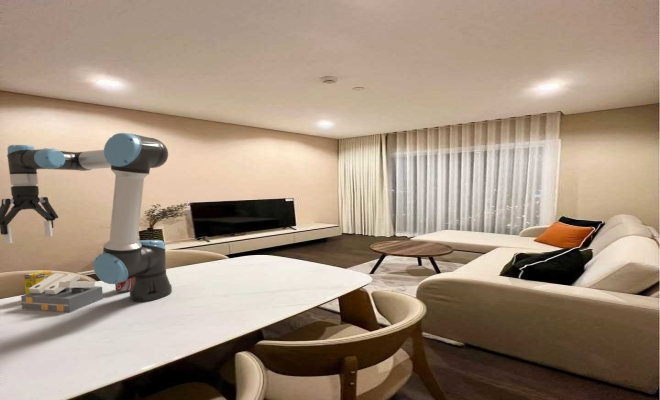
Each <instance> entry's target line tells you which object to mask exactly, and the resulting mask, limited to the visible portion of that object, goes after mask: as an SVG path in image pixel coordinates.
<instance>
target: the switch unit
mask: <svg viewBox="0 0 660 400" xmlns="http://www.w3.org/2000/svg"><path fill="white" fill-rule="evenodd" d="M103 293H104V291H103V286H95V285H94V287H76V288H65V289H63V290H62V291H60V292H59V293H57V294H45V292H43V293H41V294H40V293H29V294H26V293H25V294H23V295H20V296H21V297H20V299H21V309H22V310H30V311H31V310H32V311H47V312H58V313H59V312H61V313H72V312H74V311H77V310H79V309H82V308H84V307H86V306H88V305H91V304H93V303H96V302H98V301H101V300H103V299H104V296H103V295H104V294H103Z"/></svg>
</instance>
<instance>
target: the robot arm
mask: <svg viewBox="0 0 660 400" xmlns="http://www.w3.org/2000/svg"><path fill="white" fill-rule="evenodd" d="M6 157H7V164H8V170H9V171H8V172H9V179H10V180H9V181H10V185H11V186H10V192H11V196H12V199H11V198H2V199H1V204H0V234H1V235H2V236H3V243H4V244H13V235H12V234H13V233H12V226H11V224H10V222H11V221H12V220H13V219H15V217H16V216H17V214H19V212H21V211H22V210H24V211H25V210H33V211H35V212H36V213H37V214H39V215H40V216H41V217H42V218H43V219H44V221H43V224H44V236H45V237H46V238H47V237H49V238H50V237H51V238H52V237H53V228H54V221H55V220H56V219H58V218H59V215H58V213H57V212H56V211H55V209H54V207H53V206H52V205H51V203H50V202H49V201H50V200H49V198H48V197H47V196H41V197H39V195H40V194H39V193H40V191H39V190H40V189H39V186H38V184H39V180H38V171H37V170H60V171H61V170H63V171H64V170H65V171H79V172H80V171H83V172H84V171H85V172H87V171H91V170H93V169H94V170H95V169H109V168H110V170H111V172H112V173H113V174H114V175H115V179H114V189H113V200H112V210H111V211H112V212H111V221H110V230H109V231H110V233H109V240H108V241H106V242H105V243H104V244H103V250H102V253H100V254H98V255H97V256H96V257H95V259H93V263H92V264H93V265H92V267H93V272H94V274H95V276H96V277H98V279H99V280H100V281H101V282H103V283H105V284H109V285H115V284H116V283H119V282H124V281H126V280H128V279H130V278H133V277H134V281H133V284H132V288H131V291H129V299H130V301H133V302H147V301H148V302H149V301H153V300H157V299H162V298H164V297H167V296H169V295H170V294H171V293H172V292H173V288H172V283H170V280H169V278H168V275H167V261H166V246H165V242H164V241H163V240H160V239H143V240H138V239H139V229H140V221H141V211H142V202H143V201H142V200H143V191H144V182H145V178H146V177H147V176H148V175H150V172H151V170H150V169H155V168H159V167H162V166H163V165H164V164H165V163H166V162H167V160H168V157H169V151H168V148H167V146H166V144H164V143H163V142H162V141H161V140H159V139H157V138H154V137H148V136H143V135H139V134H135V133H127V132H126V133H125V132H119V133H116V134H114V135H112V136H111V137H109V138H108V139H107V141H106V142H105V144H104V147H103V149H97V150H87V151H65V150H59V149H56V148H46V147H45V148H40V149H39V148H38V149H35V146H33V145H29V144H28V145H27V144H10V145H8V146H7V154H6ZM12 204H13V206H12V207H11V205H12ZM40 204H41V205H40ZM10 207H11V208H10ZM9 209H10V210H9ZM9 224H10V225H9Z"/></svg>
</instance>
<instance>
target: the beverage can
mask: <svg viewBox="0 0 660 400" xmlns="http://www.w3.org/2000/svg"><path fill="white" fill-rule="evenodd" d="M133 281H134V277H133V278H130V279H128V280H126V281H124V282H119V283H116V284H114V285H115V287H114V288H115V291H116V292H118V293H122V294H123V293H130V291H131V288H132V284H133Z"/></svg>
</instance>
